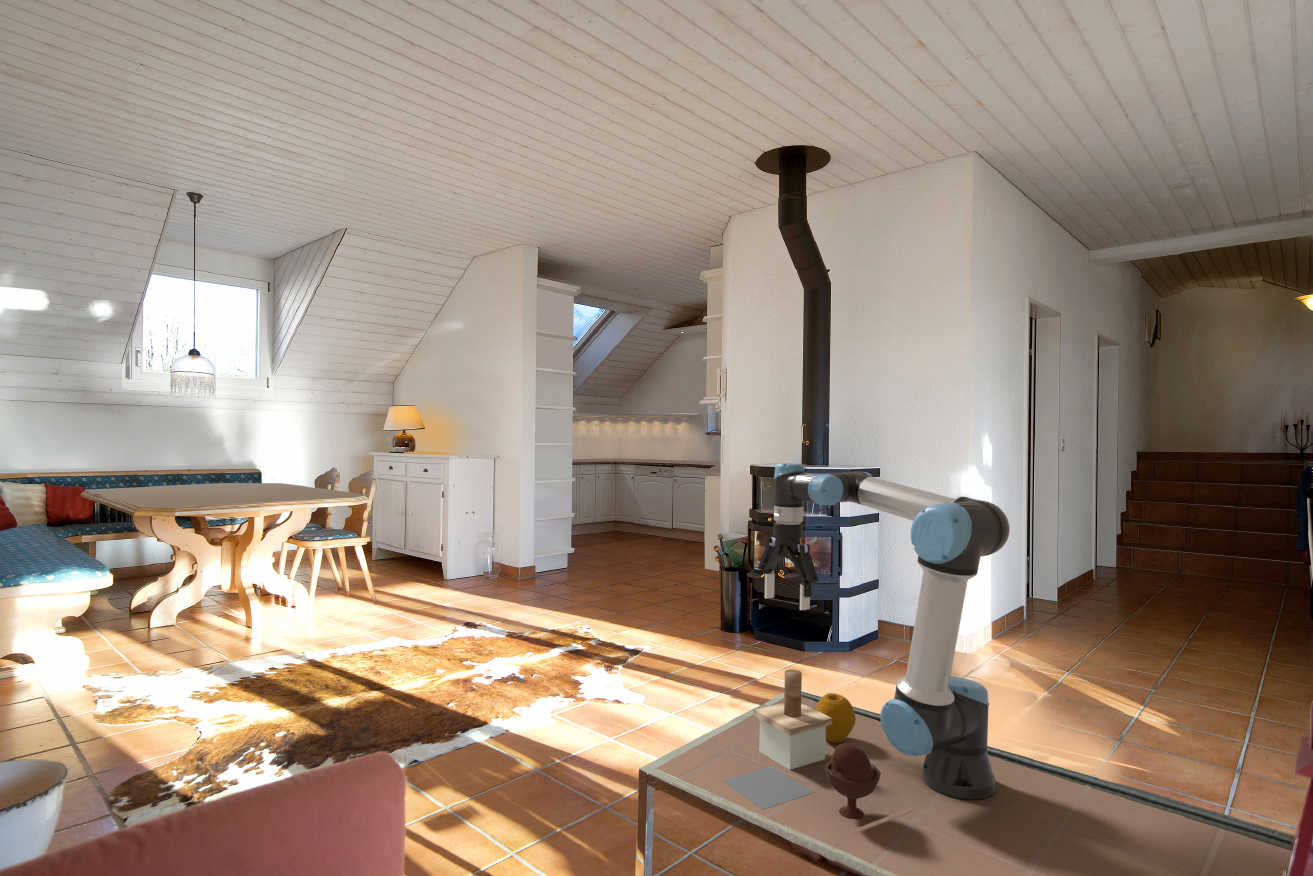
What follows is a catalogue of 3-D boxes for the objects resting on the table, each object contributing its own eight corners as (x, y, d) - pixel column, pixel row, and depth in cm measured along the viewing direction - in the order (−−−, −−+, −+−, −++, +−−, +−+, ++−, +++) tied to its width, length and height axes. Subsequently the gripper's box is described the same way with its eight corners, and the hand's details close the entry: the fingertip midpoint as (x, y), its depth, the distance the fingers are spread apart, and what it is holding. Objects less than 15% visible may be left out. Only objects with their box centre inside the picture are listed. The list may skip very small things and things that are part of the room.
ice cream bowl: (882, 833, 143) (884, 757, 143) (824, 826, 145) (825, 751, 145) (877, 805, 153) (878, 734, 153) (823, 799, 156) (824, 729, 155)
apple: (861, 740, 185) (862, 694, 185) (841, 752, 178) (842, 704, 178) (828, 729, 192) (829, 684, 192) (807, 739, 185) (808, 693, 185)
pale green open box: (825, 761, 173) (825, 723, 173) (789, 772, 168) (790, 733, 167) (793, 743, 183) (794, 708, 182) (759, 753, 177) (759, 716, 177)
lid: (831, 724, 173) (832, 676, 172) (790, 736, 166) (790, 685, 166) (794, 706, 184) (795, 660, 184) (753, 716, 177) (754, 668, 177)
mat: (813, 795, 157) (813, 792, 157) (762, 812, 150) (762, 809, 150) (771, 768, 169) (771, 766, 169) (722, 783, 162) (722, 780, 162)
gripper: (746, 517, 199) (745, 594, 199) (811, 529, 178) (809, 616, 178) (767, 515, 203) (766, 591, 203) (833, 527, 182) (831, 612, 182)
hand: (786, 603), depth 191 cm, fingers open, 13 cm apart
